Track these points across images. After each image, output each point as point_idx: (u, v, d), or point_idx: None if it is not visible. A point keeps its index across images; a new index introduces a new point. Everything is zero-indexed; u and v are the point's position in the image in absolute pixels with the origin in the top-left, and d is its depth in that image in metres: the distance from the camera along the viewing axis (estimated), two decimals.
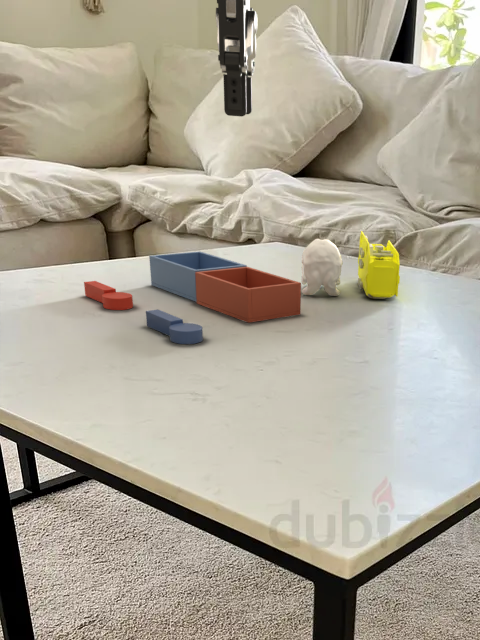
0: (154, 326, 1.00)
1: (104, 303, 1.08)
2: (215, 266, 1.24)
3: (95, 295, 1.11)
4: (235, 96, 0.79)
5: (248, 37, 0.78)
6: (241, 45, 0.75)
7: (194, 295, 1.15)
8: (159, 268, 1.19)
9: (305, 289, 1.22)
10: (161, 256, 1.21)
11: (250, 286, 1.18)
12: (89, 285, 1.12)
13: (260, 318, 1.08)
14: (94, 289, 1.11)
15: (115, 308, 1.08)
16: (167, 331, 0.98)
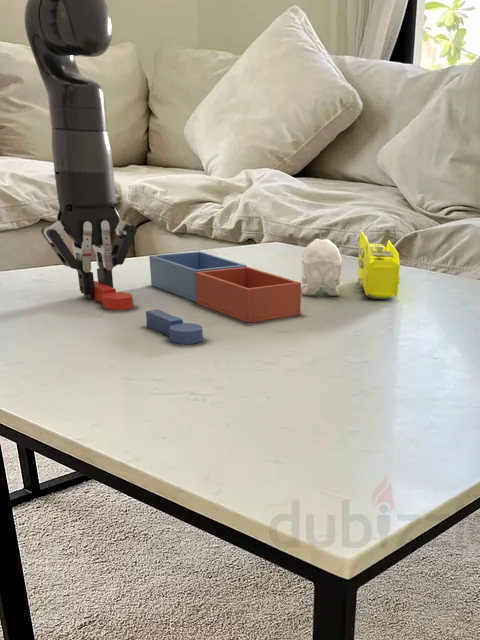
0: (154, 326, 1.00)
1: (104, 303, 1.08)
2: (215, 266, 1.24)
3: (95, 295, 1.11)
4: (82, 285, 1.11)
5: (82, 246, 1.08)
6: (65, 259, 1.07)
7: (194, 295, 1.15)
8: (159, 268, 1.19)
9: (305, 289, 1.22)
10: (161, 256, 1.21)
11: (250, 286, 1.18)
12: None
13: (260, 318, 1.08)
14: (94, 289, 1.11)
15: (115, 308, 1.08)
16: (167, 331, 0.98)
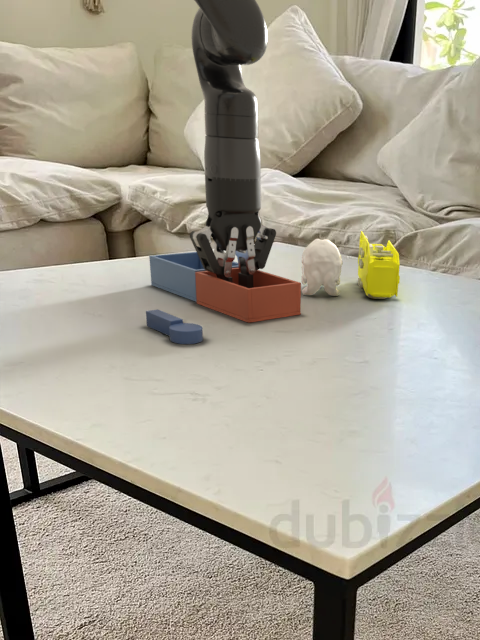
0: (154, 326, 1.00)
1: None
2: None
3: None
4: None
5: (226, 251, 1.09)
6: (209, 264, 1.08)
7: (194, 295, 1.15)
8: (159, 268, 1.19)
9: (305, 289, 1.22)
10: (161, 256, 1.21)
11: None
12: None
13: (260, 318, 1.08)
14: None
15: None
16: (167, 331, 0.98)
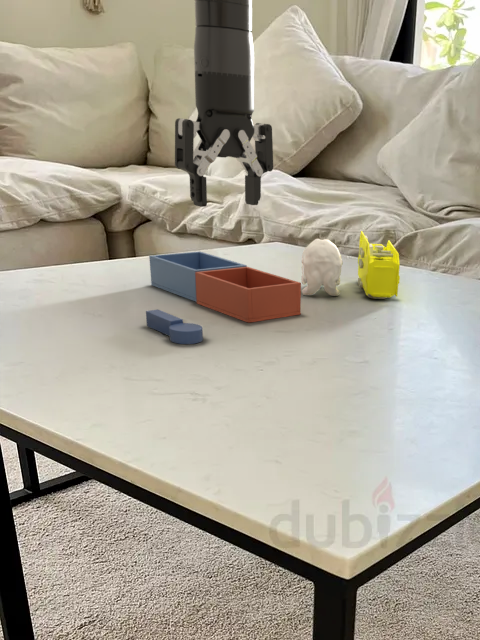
0: (154, 326, 1.00)
1: None
2: (215, 266, 1.24)
3: None
4: (193, 191, 1.03)
5: (209, 149, 1.01)
6: (184, 155, 1.00)
7: (194, 295, 1.15)
8: (159, 268, 1.19)
9: (305, 289, 1.22)
10: (161, 256, 1.21)
11: (250, 286, 1.18)
12: None
13: (260, 318, 1.08)
14: None
15: None
16: (167, 331, 0.98)
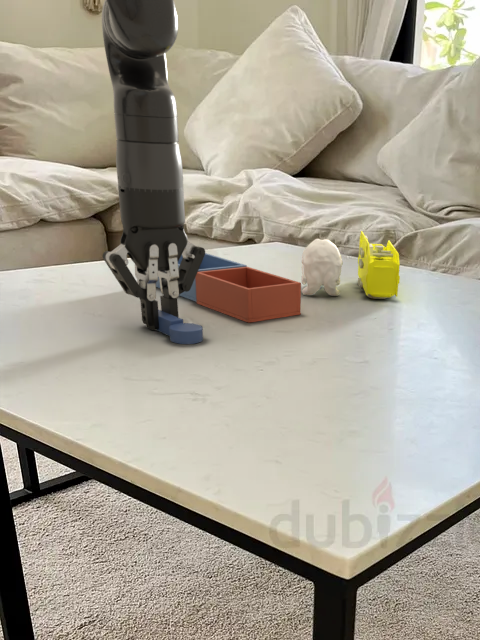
0: None
1: None
2: (215, 266, 1.24)
3: None
4: (145, 315, 0.99)
5: (147, 272, 0.95)
6: (128, 287, 0.95)
7: (194, 295, 1.15)
8: None
9: (305, 289, 1.22)
10: None
11: (250, 286, 1.18)
12: None
13: (260, 318, 1.08)
14: None
15: None
16: (167, 331, 0.98)
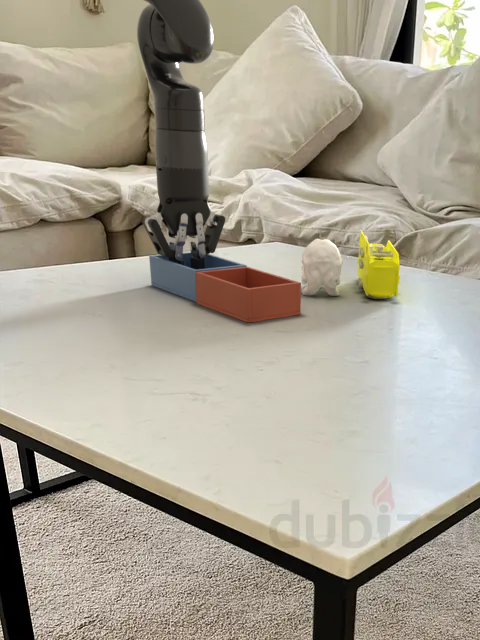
0: None
1: None
2: (215, 266, 1.24)
3: None
4: None
5: (177, 236, 1.18)
6: (161, 248, 1.17)
7: (194, 295, 1.15)
8: (159, 268, 1.19)
9: (305, 289, 1.22)
10: (161, 256, 1.21)
11: (250, 286, 1.18)
12: None
13: (260, 318, 1.08)
14: None
15: None
16: None
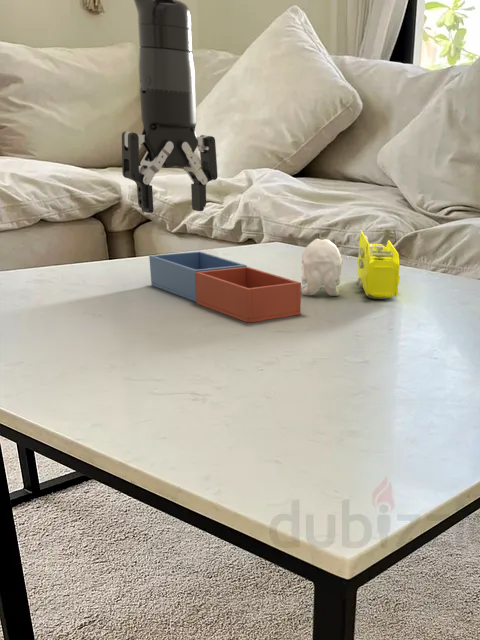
0: None
1: None
2: (215, 266, 1.24)
3: None
4: (141, 199, 1.12)
5: (154, 159, 1.10)
6: (130, 166, 1.08)
7: (194, 295, 1.15)
8: (159, 268, 1.19)
9: (305, 289, 1.22)
10: (161, 256, 1.21)
11: (250, 286, 1.18)
12: None
13: (260, 318, 1.08)
14: None
15: None
16: None
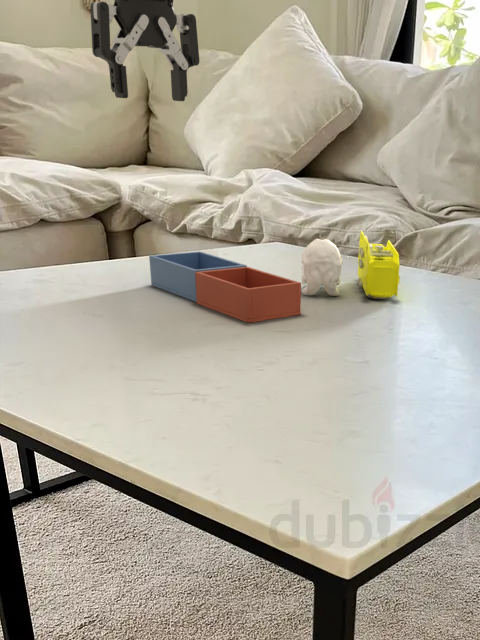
0: None
1: None
2: (215, 266, 1.24)
3: None
4: (113, 81, 1.01)
5: (127, 35, 0.99)
6: (100, 40, 0.97)
7: (194, 295, 1.15)
8: (159, 268, 1.19)
9: (305, 289, 1.22)
10: (161, 256, 1.21)
11: (250, 286, 1.18)
12: None
13: (260, 318, 1.08)
14: None
15: None
16: None
